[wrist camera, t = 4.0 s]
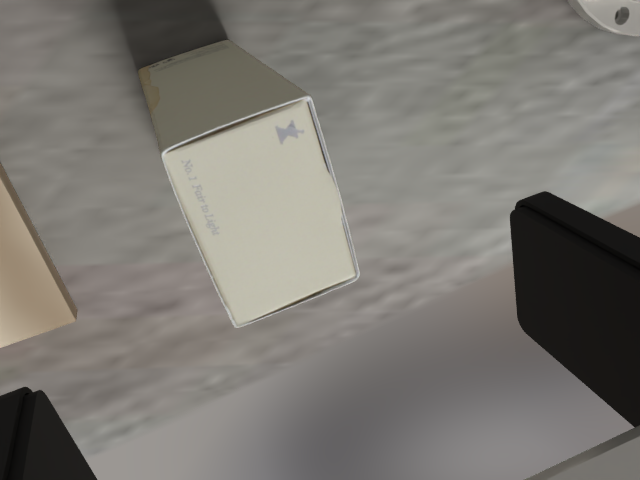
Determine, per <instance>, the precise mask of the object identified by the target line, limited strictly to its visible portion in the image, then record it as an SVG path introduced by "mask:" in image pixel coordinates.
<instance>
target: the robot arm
mask: <svg viewBox="0 0 640 480" xmlns="http://www.w3.org/2000/svg"><path fill="white" fill-rule="evenodd" d="M567 1H568V3H569V5H570V6H571V7H572V8H573V9H574V10H575V11H576V12H577V13H578V14H579V15H580V16H581V17H582V18H583V19H584V20H585V21H587V22H589V23H590V24H592V25H593V26H595V27H597V28H598V29H601V30H604V31H608V32H611V33H614V34H621V35H630V36H640V0H567ZM510 226H511V239H512V252H513V266H514V279H515V292H516V305H517V317H518V321H519V323H520V326H521V327H522V329H523V330H524V332H526V334H527V335H528V336H530V337H531V338H532V339H533V340H534V341H535V342H537V343H538V344H539V345H540V346H541V347H542V348H544V349H545V350H546V351H547V352H548V353H549V354H551V355H552V356H553V357H554V358H555V359H556V360H557V361H559V362H560V363H561V364H562V365H563V366H564V367H566V368H567V369H568V370H569V371H570V372H571V373H572V374H574V375H575V376H576V377H577V378H578V379H580V380H581V381H582V382H583V383H584V384H585V385H586V386H588V387H589V388H590V389H591V390H592V391H593V392H595V393H596V394H597V395H598V396H599V397H600V398H602V399H603V400H604V401H605V402H606V403H607V404H608V405H610V406H611V407H612V408H613V409H614V410H615V411H616V412H618V413H619V414H620V415H621V416H622V417H623V418H625V419H626V420H627V421H628V422H629V423H630V424H632V425H633V426H634V427H635V428H633V429H631V430H629V431H627V432H625V433H623V434H620V435H618V436H616V437H614V438H612V439H610V440H608V441H606V442H603V443H601V444H599V445H597V446H595V447H593V448H591V449H589V450H586V451H584V452H582V453H580V454H578V455H576V456H574V457H572V458H569V459H567V460H565V461H563V462H561V463H559V464H557V465H555V466H552V467H550V468H548V469H546V470H544V471H542V472H540V473H538V474H535V475H533V476H531V477H529V478H527V479H525V480H640V238H639V237H637V236H635V235H633V234H631V233H629V232H627V231H625V230H623V229H621V228H619V227H617V226H615V225H613V224H611V223H609V222H607V221H605V220H603V219H601V218H599V217H597V216H595V215H593V214H591V213H589V212H587V211H585V210H583V209H581V208H579V207H577V206H575V205H573V204H571V203H569V202H567V201H565V200H563V199H561V198H559V197H557V196H555V195H553V194H551V193H549V192H546V191H545V192H541V193H538V194H535V195H533V196H530V197H527V198H525V199H522V200H519V201H518V202H517V203H516V206H515V210H513V211H512V212H511V214H510ZM0 480H97V478H96V477H95V475H94V473H93V472H92V470H91V468H90V467H89V465H88V463H87V462H86V460H85V459H84V457H83V455H82V454H81V452H80V450H79V449H78V447H77V445H76V444H75V442H74V440H73V439H72V437H71V435H70V434H69V432H68V430H67V429H66V427H65V425H64V424H63V422H62V420H61V419H60V417H59V415H58V414H57V412H56V410H55V409H54V407H53V405H52V404H51V402H50V401H49V399H48V397H47V396H46V394H45V393H44V392H43V391H42V390H38V391H36V392H32V391H31V390H30V389H29V388H28V387H23V388H20V389H17V390H15V391H12V392H10V393H7V394H4V395H2V396H0Z"/></svg>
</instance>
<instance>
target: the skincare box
mask: <svg viewBox="0 0 640 480" xmlns="http://www.w3.org/2000/svg"><path fill="white" fill-rule="evenodd" d="M138 75H139V78H140V81H141V85H142V88H143V91H144V94H145V97H146V100H147V104H148V108H149V111H150V115H151V118H152V122H153V125H154V129H155V133H156V137H157V141H158V145H159V150H160V155H161V159H162V161H163V164H164V167H165V170H166V172H167V175H168V178H169V181H170V183H171V186H172V189H173V191H174V194H175V196H176V199H177V201H178V203H179V206H180V208H181V211H182V213H183V216H184V218H185V221H186V223H187V225H188V228H189V230H190V232H191V235H192V237H193V239H194V242H195V244H196V246H197V248H198V251H199V253H200V255H201V258H202V260H203V262H204V264H205V267H206V269H207V271H208V273H209V276H210V278H211V280H212V282H213V284H214V286H215V289H216V291H217V293H218V295H219V297H220V299H221V301H222V304H223V306H224V308H225V310H226V312H227V314H228V316H229V318H230V320H231V322H232V324H233V326H234V327H236V328H239V327H243V326H245V325H247V324H250V323H253V322H255V321H258V320H260V319H263V318H265V317H268V316H271V315H273V314H276V313H278V312H281V311H283V310H286V309H288V308H291V307H294V306H296V305H299V304H301V303H303V302H306V301H309V300H311V299H314V298H316V297H319V296H321V295H323V294H326V293H328V292H330V291H332V290H335V289H338V288H340V287H343V286H345V285H347V284H350V283H352V282H354V281H356V280H357V279H358V278H359V275H360V271H359V267H358V263H357V259H356V254H355V250H354V246H353V242H352V238H351V235H350V230H349V226H348V222H347V218H346V214H345V210H344V207H343V203H342V199H341V195H340V192H339V188H338V185H337V181H336V178H335V175H334V171H333V167H332V164H331V160H330V157H329V154H328V151H327V147H326V144H325V140H324V137H323V134H322V130H321V127H320V123H319V120H318V117H317V114H316V110H315V107H314V103H313V100H312V97H311V96H310V95H309V94H308V93H306V92H305V91H303V90H302V89H300V88H299V87H297V86H296V85H294V84H293V83H291V82H290V81H288V80H287V79H285V78H284V77H283V76H281V75H280V74H278V73H277V72H275V71H274V70H272V69H271V68H269V67H268V66H266V65H265V64H263V63H262V62H261V61H259V60H258V59H256V58H255V57H253V56H252V55H250V54H249V53H247V52H246V51H244V50H243V49H242V48H240V47H239V46H237V45H236V44H234V43H233V42H232V41H230V40H224V41H221V42H217V43H214V44H211V45H208V46H204V47H201V48H198V49H195V50H192V51H189V52H186V53H183V54H179V55H177V56H174V57H171V58H168V59H165V60H162V61H160V62H157V63H154V64H152V65H149V66H146V67H143V68H141V69H139V71H138Z"/></svg>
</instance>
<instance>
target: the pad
mask: <svg viewBox="0 0 640 480" xmlns="http://www.w3.org/2000/svg"><path fill="white" fill-rule="evenodd" d="M76 317H77V309H76V307H75V305H74V303H73V301H72V299H71V297H70V295H69V293H68V291H67V290H66V288H65V286H64V284H63V282H62V280H61V278H60V276H59V274H58V272H57V270H56V268H55V267H54V265H53V263H52V261H51V259H50V257H49V255H48V253H47V251H46V249H45V247H44V245H43V244H42V242H41V240H40V238H39V236H38V234H37V232H36V230H35V228H34V226H33V224H32V222H31V221H30V219H29V217H28V215H27V213H26V211H25V209H24V207H23V205H22V203H21V201H20V199H19V197H18V196H17V194H16V192H15V190H14V188H13V186H12V184H11V182H10V180H9V178H8V176H7V174H6V173H5V171H4V169H3V167H2V165H1V163H0V348H1V347H4V346H7V345H10V344H12V343H15V342H18V341H21V340H24V339H27V338H30V337H32V336H35V335H38V334H41V333H44V332H47V331H49V330H52V329H55V328H58V327H61V326H64V325H67V324H69V323H72V322H75V321H76Z"/></svg>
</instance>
